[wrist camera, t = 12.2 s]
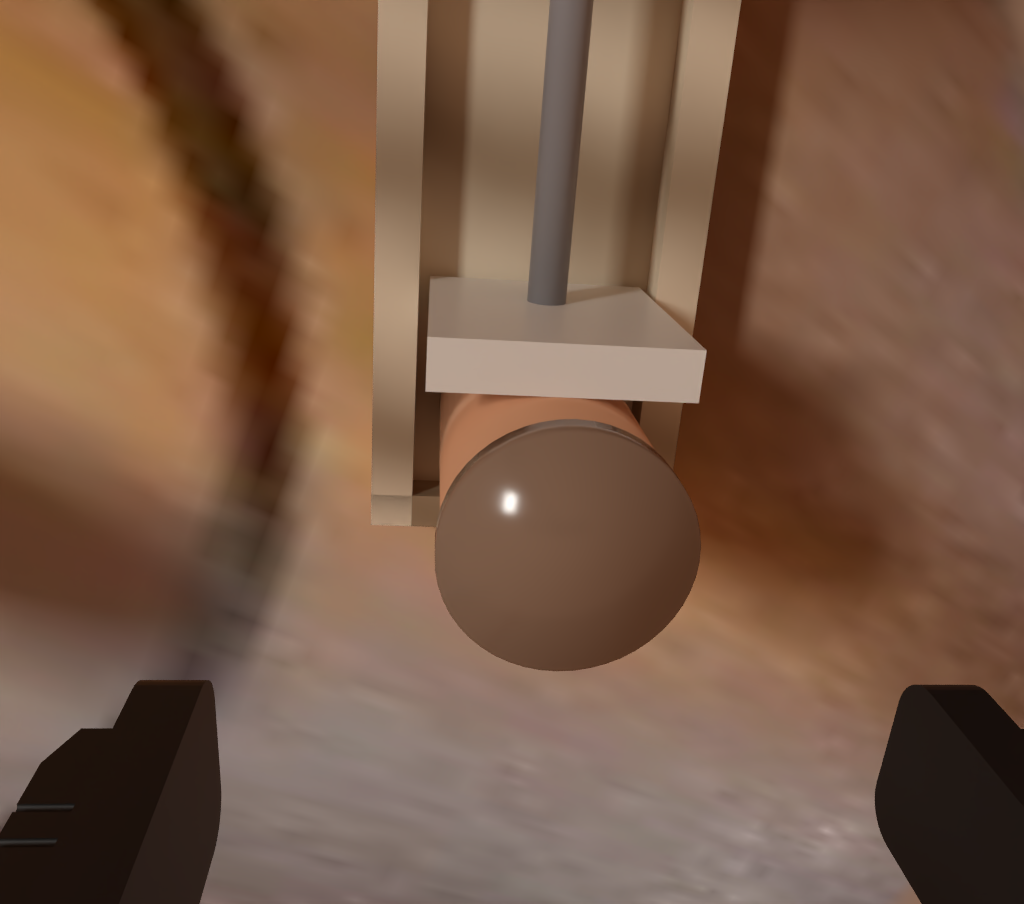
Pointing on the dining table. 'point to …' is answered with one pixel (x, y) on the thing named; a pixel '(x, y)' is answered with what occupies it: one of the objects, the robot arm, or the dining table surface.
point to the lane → (531, 186)
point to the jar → (558, 529)
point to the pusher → (558, 284)
